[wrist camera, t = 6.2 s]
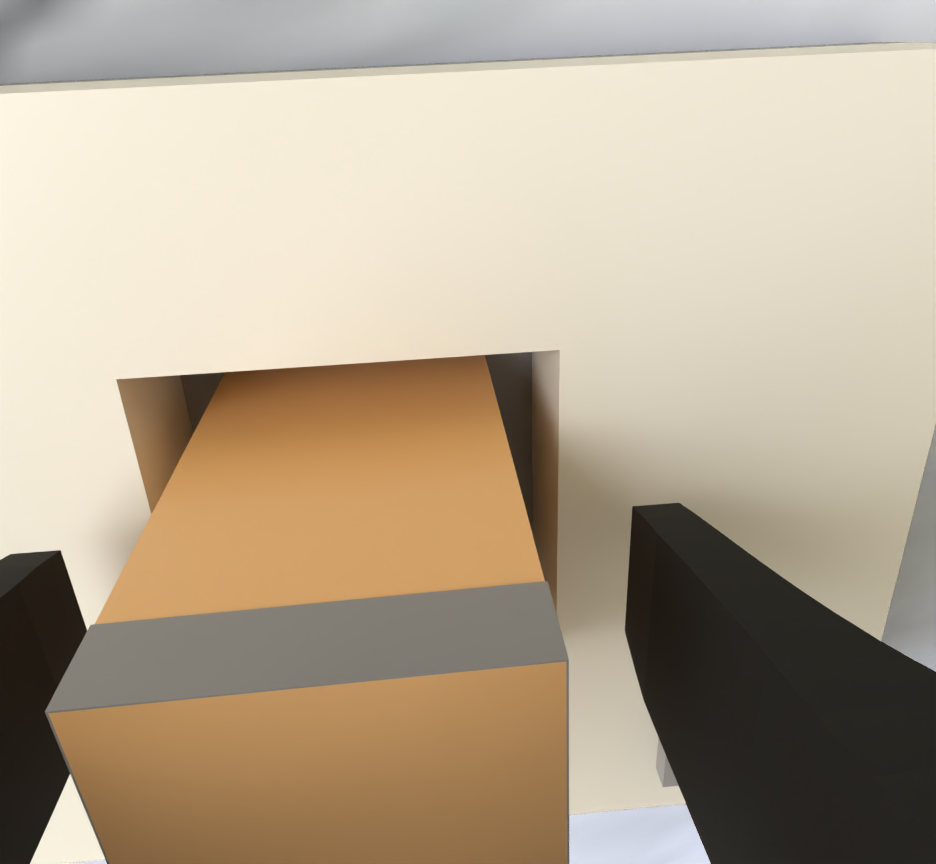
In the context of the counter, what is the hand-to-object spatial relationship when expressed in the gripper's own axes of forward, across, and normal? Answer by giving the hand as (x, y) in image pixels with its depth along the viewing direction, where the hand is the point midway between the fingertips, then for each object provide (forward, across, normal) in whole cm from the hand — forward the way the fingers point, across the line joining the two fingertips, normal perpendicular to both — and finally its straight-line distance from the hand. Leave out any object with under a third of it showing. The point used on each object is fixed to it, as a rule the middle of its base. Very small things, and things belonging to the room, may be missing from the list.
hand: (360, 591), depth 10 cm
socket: (+4, 0, 0) cm, 4 cm away
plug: (+3, 0, 0) cm, 3 cm away
